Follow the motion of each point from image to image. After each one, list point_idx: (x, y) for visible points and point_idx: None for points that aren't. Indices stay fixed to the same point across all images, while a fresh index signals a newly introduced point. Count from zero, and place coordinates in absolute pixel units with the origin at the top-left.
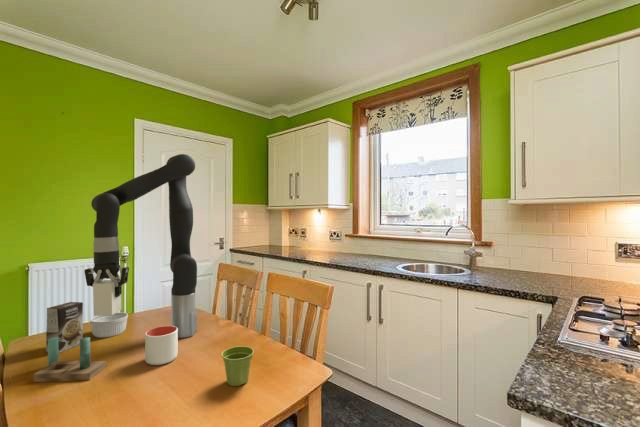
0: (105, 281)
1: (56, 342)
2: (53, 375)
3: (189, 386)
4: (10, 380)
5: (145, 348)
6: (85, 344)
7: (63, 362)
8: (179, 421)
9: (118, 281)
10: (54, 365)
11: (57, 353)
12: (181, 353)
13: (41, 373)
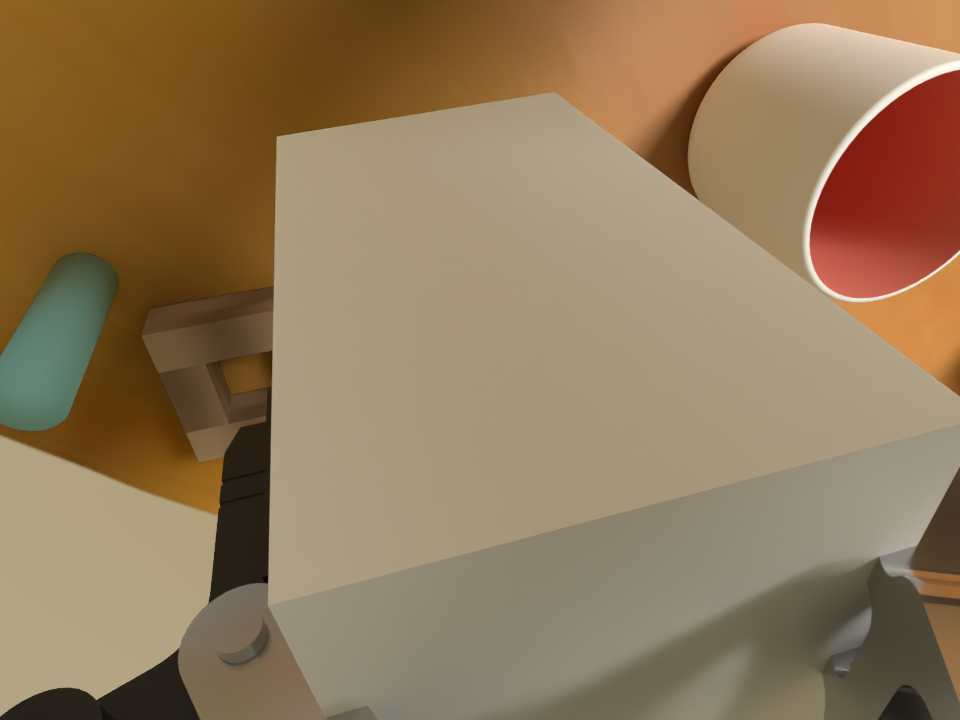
0: (543, 685)
1: (77, 382)
2: None
3: (905, 346)
4: (34, 444)
5: (745, 233)
6: None
7: (225, 338)
8: None
9: (916, 550)
10: (209, 377)
11: (98, 320)
12: (872, 18)
13: None
